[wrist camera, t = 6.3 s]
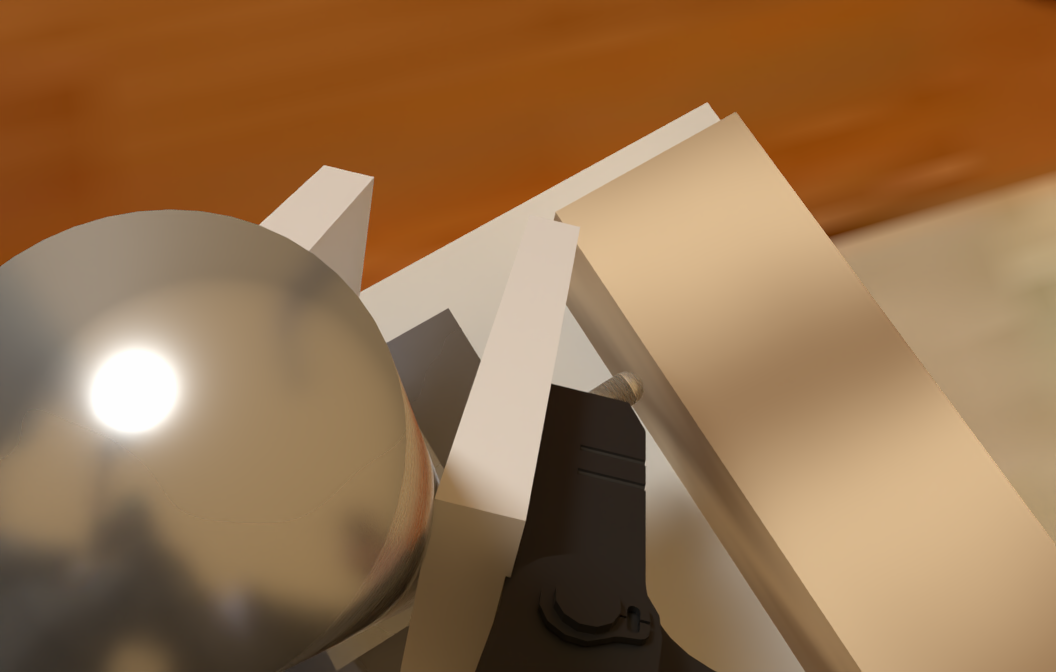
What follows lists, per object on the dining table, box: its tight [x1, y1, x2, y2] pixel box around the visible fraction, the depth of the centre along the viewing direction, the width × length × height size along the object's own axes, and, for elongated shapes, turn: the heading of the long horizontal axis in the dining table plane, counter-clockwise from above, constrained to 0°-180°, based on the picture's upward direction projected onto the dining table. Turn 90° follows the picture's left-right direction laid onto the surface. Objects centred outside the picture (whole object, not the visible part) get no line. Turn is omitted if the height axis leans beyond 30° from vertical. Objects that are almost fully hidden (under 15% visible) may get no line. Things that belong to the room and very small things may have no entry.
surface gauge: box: [0, 210, 644, 672], centre depth 11 cm, size 6×8×13 cm
